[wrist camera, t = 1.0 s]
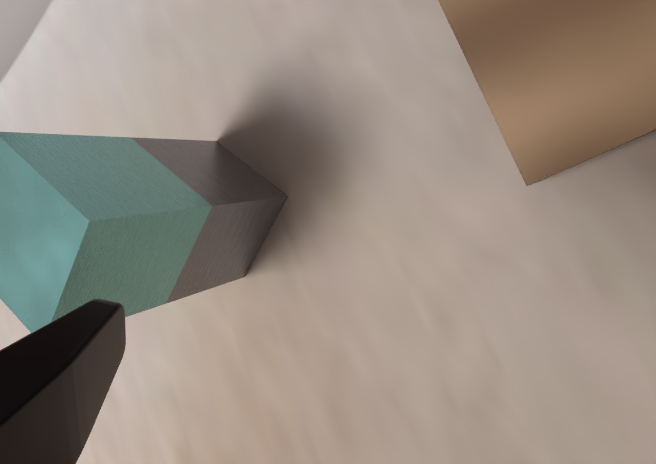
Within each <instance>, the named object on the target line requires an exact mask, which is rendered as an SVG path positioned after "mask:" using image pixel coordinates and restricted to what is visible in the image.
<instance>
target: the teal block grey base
mask: <svg viewBox="0 0 656 464" xmlns="http://www.w3.org/2000/svg"><path fill="white" fill-rule="evenodd" d="M287 197H288V196H286V195H285V194H284V193H283V192H281V191H280V190H279V189H277V188H276V187H275V186H273V185H272V184H271V183H270V182H268V181H267V180H266V179H264V178H263V177H262V176H260V175H259V174H258V173H257V172H255V171H254V170H253V169H251V168H250V167H249V166H247V165H246V164H245V163H244V162H242V161H241V160H240V159H238V158H237V157H236V156H235V155H233V154H232V153H231V152H229V151H228V150H227V149H225V148H224V147H223V146H222V145H220V144H219V143H218V142H216V141H198V140H175V139H152V138H129V137H105V136H82V135H59V134H36V133H13V132H0V299H1V300H2V301H3V302H4V303H5V304H6V305H7V306H8V307H9V309H10V310H11V311H12V312H13V313H14V314H15V315H16V316H17V317H18V319H19V320H20V321H21V322H22V323H23V324H24V325H25V326H26V328H27V329H28V330H29V331H30V332H31V333H33V332H34V331H36V330H38V329H40V328H42V327H43V326H45V325H47V324H49V323H51V322H52V321H54V320H56V319H58V318H60V317H62V316H63V315H65V314H67V313H69V312H71V311H72V310H74V309H76V308H78V307H80V306H81V305H83V304H85V303H87V302H89V301H91V300H93V299H104V300H108V301H113V302H118V303H120V304H122V305H123V307H124V310H125V317H127V316H130V315H133V314H136V313H139V312H142V311H145V310H148V309H151V308H154V307H157V306H160V305H163V304H166V303H169V302H172V301H175V300H178V299H181V298H184V297H186V296H189V295H192V294H195V293H198V292H201V291H204V290H207V289H210V288H213V287H216V286H219V285H222V284H225V283H228V282H231V281H234V280H237V279H240V278H243V277H245V275H246V273H247V271H248V269H249V267H250V265H251V264H252V262H253V260H254V258H255V256H256V254H257V252H258V251H259V249H260V247H261V245H262V243H263V241H264V239H265V238H266V236H267V234H268V232H269V230H270V228H271V226H272V225H273V223H274V221H275V219H276V217H277V215H278V213H279V212H280V210H281V208H282V206H283V204H284V202H285V200H286V199H287Z"/></svg>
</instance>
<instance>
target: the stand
mask: <svg viewBox="0 0 656 464" xmlns="http://www.w3.org/2000/svg"><path fill="white" fill-rule="evenodd" d="M438 1H439V3H440V5H441V7H442V9H443V11H444V13H445V15H446V17H447V20H448V22H449V24H450V26H451V28H452V30H453V32H454V34H455V36H456V39H457V41H458V43H459V45H460V47H461V49H462V51H463V53H464V55H465V57H466V60H467V62H468V64H469V66H470V68H471V70H472V72H473V74H474V76H475V79H476V81H477V83H478V85H479V87H480V89H481V91H482V93H483V95H484V97H485V100H486V102H487V104H488V106H489V108H490V110H491V112H492V114H493V116H494V118H495V121H496V123H497V125H498V127H499V129H500V131H501V133H502V135H503V137H504V140H505V142H506V144H507V146H508V148H509V150H510V152H511V154H512V156H513V158H514V161H515V163H516V165H517V167H518V169H519V171H520V173H521V175H522V177H523V179H524V182H525V184H526V186H528V185H531V184H533V183H535V182H538V181H540V180H542V179H545V178H547V177H549V176H551V175H554V174H556V173H558V172H560V171H563V170H565V169H567V168H569V167H572V166H574V165H576V164H579V163H581V162H583V161H585V160H588V159H590V158H592V157H594V156H597V155H599V154H601V153H603V152H606V151H608V150H610V149H613V148H615V147H617V146H619V145H622V144H624V143H626V142H628V141H631V140H633V139H635V138H637V137H640V136H642V135H644V134H647V133H649V132H651V131H653V130H656V0H438Z"/></svg>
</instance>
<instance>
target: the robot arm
mask: <svg viewBox="0 0 656 464" xmlns="http://www.w3.org/2000/svg"><path fill="white" fill-rule="evenodd" d="M125 345H126V335H125V310H124V307H123V305H122V304H120V303H118V302H113V301H108V300H104V299H93V300H91V301H89V302H87V303H85V304H83V305H81V306H80V307H78V308H76V309H74V310H72V311H71V312H69V313H67V314H65V315H63V316H62V317H60V318H58V319H56V320H54V321H52V322H51V323H49V324H47V325H45V326H43V327H42V328H40V329H38V330H36V331H34V332H33V333H31V334H29V335H27V336H25V337H24V338H22V339H20V340H18V341H16V342H14V343H13V344H11V345H9V346H7V347H5V348H4V349H2V350H0V464H76V462H77V460H78V458H79V456H80V454H81V452H82V450H83V448H84V446H85V444H86V441H87V439H88V437H89V435H90V432H91V430H92V428H93V425H94V423H95V421H96V418H97V416H98V414H99V411H100V409H101V407H102V404H103V402H104V400H105V397H106V395H107V393H108V390H109V388H110V386H111V383H112V381H113V379H114V376H115V374H116V372H117V369H118V367H119V365H120V362H121V360H122V357H123V354H124V351H125Z"/></svg>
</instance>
